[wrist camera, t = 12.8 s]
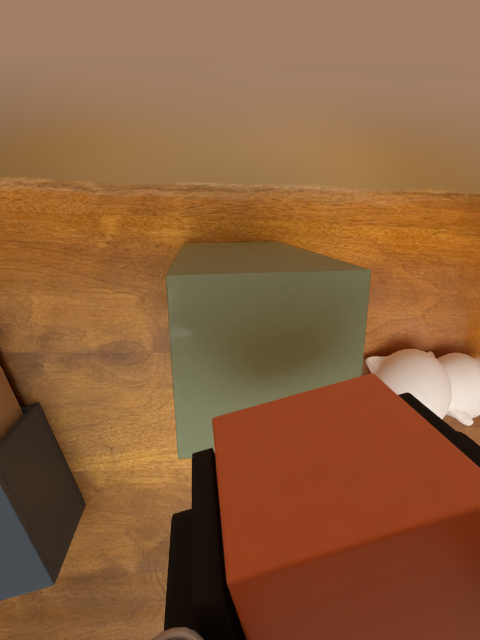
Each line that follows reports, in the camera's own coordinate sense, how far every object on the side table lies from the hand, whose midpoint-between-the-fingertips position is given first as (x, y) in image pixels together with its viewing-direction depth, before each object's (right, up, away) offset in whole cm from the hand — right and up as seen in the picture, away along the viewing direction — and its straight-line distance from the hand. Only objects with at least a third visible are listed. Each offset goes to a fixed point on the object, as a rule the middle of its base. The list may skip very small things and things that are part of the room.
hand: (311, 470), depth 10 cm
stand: (-3, +7, +26) cm, 27 cm away
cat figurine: (+17, -3, +31) cm, 36 cm away
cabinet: (-26, -12, +29) cm, 41 cm away
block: (0, 0, 0) cm, 0 cm away
